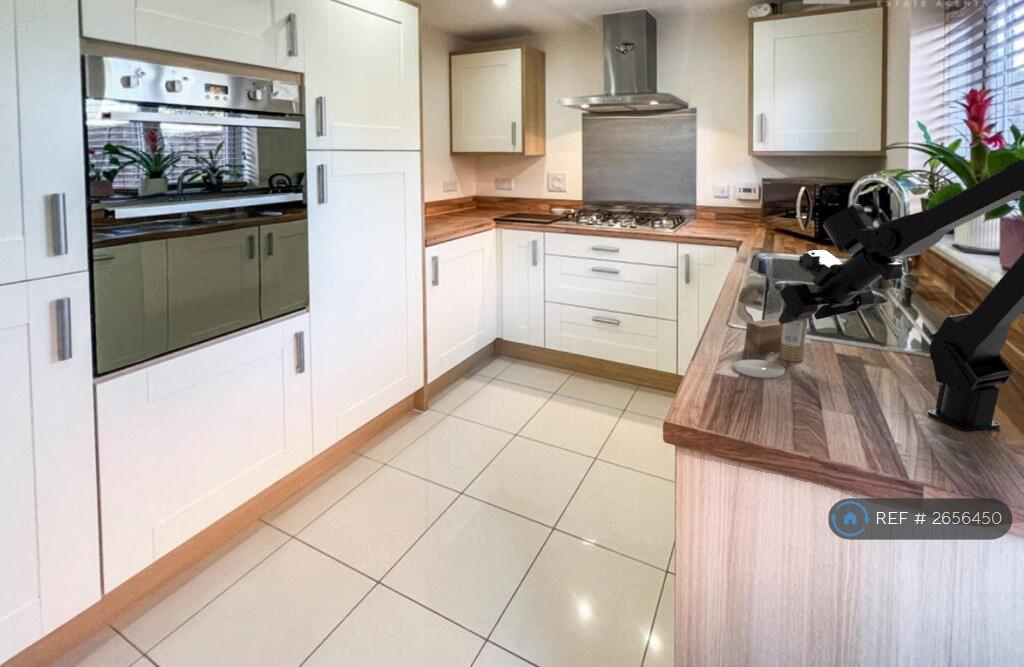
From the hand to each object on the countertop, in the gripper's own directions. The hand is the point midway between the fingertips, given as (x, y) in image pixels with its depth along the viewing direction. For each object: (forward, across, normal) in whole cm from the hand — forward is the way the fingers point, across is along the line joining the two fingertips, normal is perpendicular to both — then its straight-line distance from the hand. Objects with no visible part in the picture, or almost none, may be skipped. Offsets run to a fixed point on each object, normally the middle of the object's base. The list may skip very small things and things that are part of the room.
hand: (798, 319), depth 115 cm
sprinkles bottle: (+6, 0, +6) cm, 9 cm away
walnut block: (+11, 0, +1) cm, 11 cm away
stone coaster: (+4, +11, +7) cm, 14 cm away
